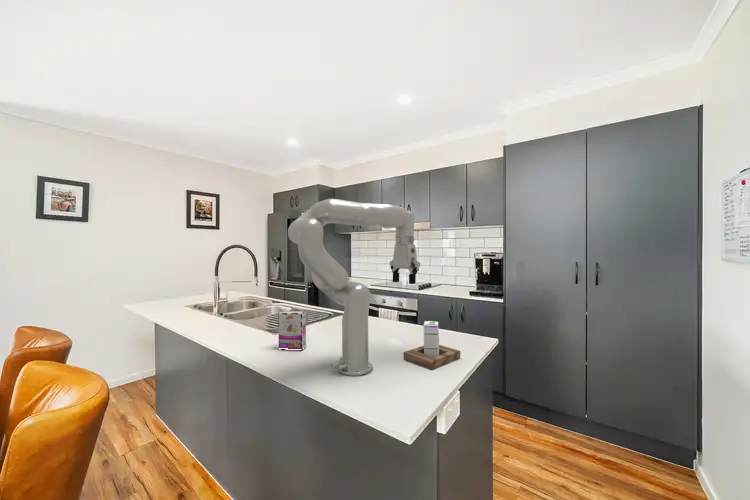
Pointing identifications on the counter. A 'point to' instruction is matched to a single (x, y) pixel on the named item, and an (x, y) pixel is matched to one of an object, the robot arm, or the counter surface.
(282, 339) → the candy bar box
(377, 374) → the counter surface
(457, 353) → the square wooden frame
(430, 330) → the syrup box
